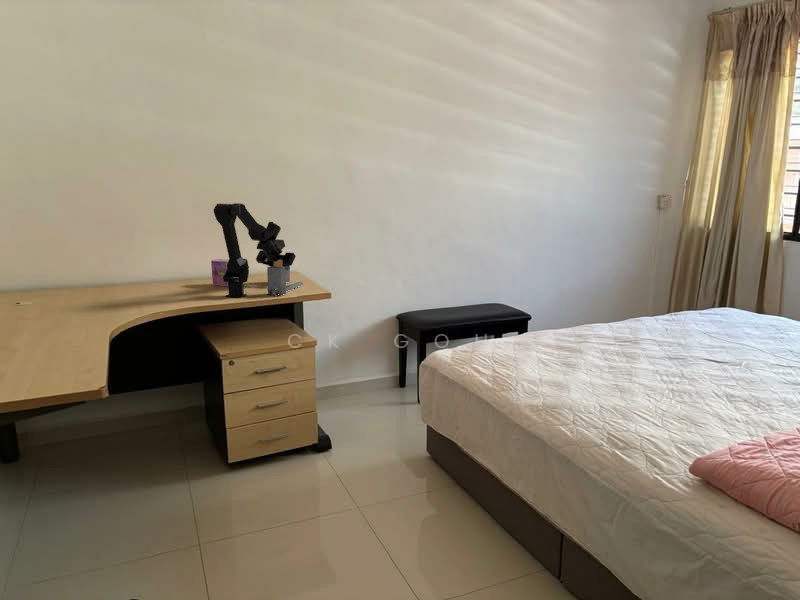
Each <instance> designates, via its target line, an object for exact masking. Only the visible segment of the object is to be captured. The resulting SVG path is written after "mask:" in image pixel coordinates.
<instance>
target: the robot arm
mask: <svg viewBox="0 0 800 600" xmlns="http://www.w3.org/2000/svg"><path fill="white" fill-rule="evenodd" d="M213 214H214V216H215V220H216V221H217V223H218V224H219V225H220V226H221V229H222V233H223V237H224V242H225V247H226V251H227V254H228V255H227V256H228V260H229V261H228V263H227V271H226V273H225V275H224V276H223V280H224V282H229V283H228V287H227V290H228V294H227V295H225V297H226V298H235V299H238V298H242V297H245V296H247V293H245V290H244V289H245V288H244V284H245V283H248V279H249V274H250V273H249V272H250V270H249V268H250V266H249V261H248V259H247V258H244V257H243V256H242V253H241V248H240V244H239V239H238V234H237V231H236V226H235V223H236V220H237V218H238V219H239V221H240V222H241V223H242V224H243V225H244V227H245V228H246V229H247V231H248V233H247V234H248V236H249V238H250V239H251V241H255V242H258V243H257V245H256V250H259V251H258V254H257V255H256V257H255V260H256V263H257V264H262V265H265V266H267V267H270V266H273V261H275V262H277V261H278V260H282V263H283V264H282V266H283V267H285V268H286V269H288V270H289V269H290V270H291V267H290V266H292V265H293V263H294V261H295V259H296V254H295V253H294V252H288V251H287V252H285V253H284V254H282V253H283V249H284V248H285V247H286V244H285V241H284V239H277V237H278V236H279V234H280V231H281V226H280V225H278V224H277V223H274V221H269V222H268V223H267V226H266V227H265V226H264V225H262V224H260V223H258V222H257V220H256V219H255V218H254V217H253V216H252V214H251V213H250V212H249V210H248V209H247V208H246V205H245V204H243V203H235V202H234V203H216V204H215V206H214V208H213ZM233 277H237V278H233Z"/></svg>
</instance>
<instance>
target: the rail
mask: <svg viewBox="0 0 800 600" xmlns="http://www.w3.org/2000/svg"><path fill="white" fill-rule="evenodd" d="M301 285H303V286H304V282H303V281H297V282H296V281H295V282H294V283H292V284H288V285H286V291H288V290H291V289H294V288H296V287H298V286H301ZM294 290H295V289H294ZM291 291H292V290H291ZM288 292H289V291H288ZM278 294H279V289H275V290H273V291H272V295H278ZM272 295H271V296H272ZM278 296H279V295H278Z"/></svg>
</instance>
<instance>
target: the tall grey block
mask: <svg viewBox="0 0 800 600" xmlns="http://www.w3.org/2000/svg"><path fill="white" fill-rule="evenodd" d="M266 270H267V271H266V273H267V276H266V277H267V295H268V294H270V295H269V296H272V295H271V294H272V291H273V290H276V289H279V295H283V294H286V295H287V292H286V286H287V284H286V275H285V267H279V266H267V267H266ZM279 295H278V296H279ZM283 296H284V295H283Z"/></svg>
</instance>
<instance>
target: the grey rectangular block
mask: <svg viewBox="0 0 800 600" xmlns="http://www.w3.org/2000/svg"><path fill="white" fill-rule="evenodd" d="M282 264H283V263H282V260H278V261H277V262H275V261H273V266H279V267H283V266H282ZM290 270H291V268H290V269H289V270H288V269H286V268H285V275H286V282H289V281H291V279H290V278H291V276H290V274H291V273H290Z"/></svg>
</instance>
